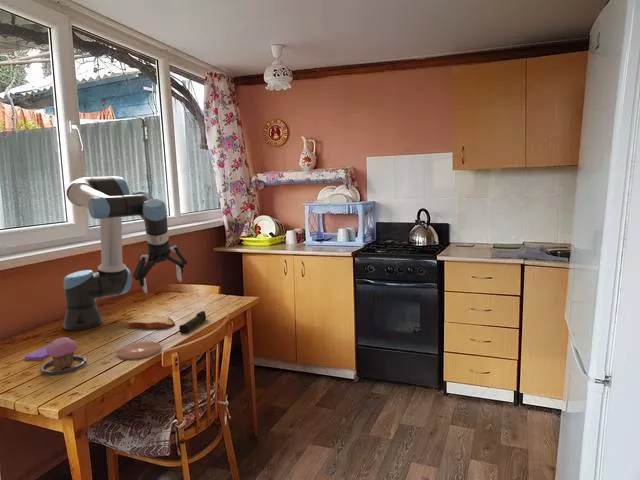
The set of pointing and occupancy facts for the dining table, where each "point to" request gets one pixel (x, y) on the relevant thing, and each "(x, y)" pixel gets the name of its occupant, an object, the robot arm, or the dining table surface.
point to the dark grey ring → (64, 369)
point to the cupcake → (62, 352)
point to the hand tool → (193, 322)
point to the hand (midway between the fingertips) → (162, 285)
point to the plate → (138, 350)
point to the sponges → (38, 354)
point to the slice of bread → (151, 323)
